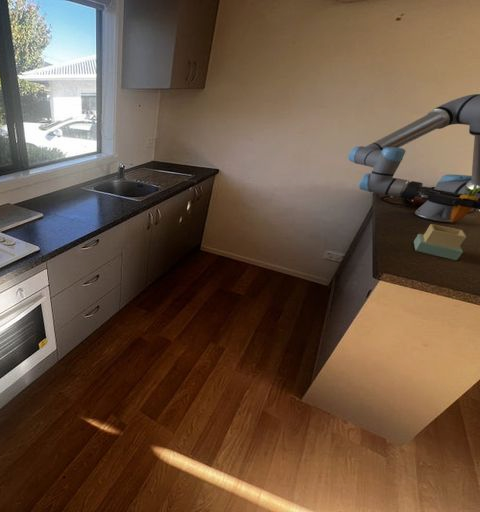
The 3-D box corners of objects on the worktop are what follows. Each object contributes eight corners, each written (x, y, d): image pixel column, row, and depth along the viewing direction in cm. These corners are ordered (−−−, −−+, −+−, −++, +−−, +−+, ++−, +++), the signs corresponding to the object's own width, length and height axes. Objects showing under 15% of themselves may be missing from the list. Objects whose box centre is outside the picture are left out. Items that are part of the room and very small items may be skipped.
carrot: (458, 225, 113) (484, 188, 106) (440, 221, 117) (464, 184, 110) (463, 224, 115) (489, 187, 108) (446, 219, 119) (470, 183, 112)
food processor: (413, 240, 130) (425, 221, 126) (452, 249, 123) (466, 229, 119) (415, 250, 122) (428, 230, 117) (456, 260, 115) (472, 239, 110)
